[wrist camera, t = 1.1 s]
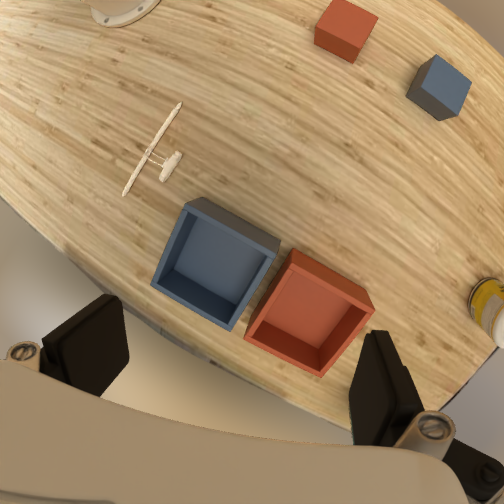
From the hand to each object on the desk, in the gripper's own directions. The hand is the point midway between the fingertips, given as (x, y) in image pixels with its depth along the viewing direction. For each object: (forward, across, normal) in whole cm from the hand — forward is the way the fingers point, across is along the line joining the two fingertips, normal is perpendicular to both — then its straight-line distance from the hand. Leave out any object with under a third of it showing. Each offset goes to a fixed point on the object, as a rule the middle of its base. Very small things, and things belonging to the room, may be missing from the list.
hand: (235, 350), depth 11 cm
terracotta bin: (+25, -4, +10) cm, 27 cm away
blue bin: (+25, +7, +4) cm, 27 cm away
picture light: (+25, +15, -7) cm, 30 cm away
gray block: (+25, -17, -18) cm, 35 cm away
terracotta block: (+25, -6, -23) cm, 34 cm away
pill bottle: (+26, -30, +7) cm, 40 cm away
